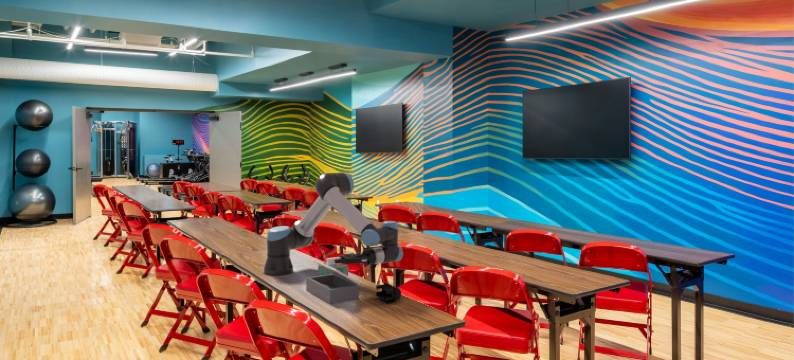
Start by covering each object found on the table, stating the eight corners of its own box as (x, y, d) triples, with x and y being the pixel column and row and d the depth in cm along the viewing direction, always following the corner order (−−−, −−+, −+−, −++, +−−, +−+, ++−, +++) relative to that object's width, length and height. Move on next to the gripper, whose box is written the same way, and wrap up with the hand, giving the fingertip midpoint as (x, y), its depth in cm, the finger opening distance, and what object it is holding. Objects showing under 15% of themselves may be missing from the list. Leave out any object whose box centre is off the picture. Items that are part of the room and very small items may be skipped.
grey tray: (306, 290, 229) (306, 277, 229) (333, 286, 237) (333, 273, 237) (329, 304, 210) (329, 289, 209) (358, 299, 217) (359, 285, 217)
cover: (311, 259, 230) (311, 258, 230) (333, 273, 237) (334, 271, 237) (335, 270, 210) (336, 269, 210) (359, 284, 217) (359, 283, 217)
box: (342, 282, 244) (342, 267, 243) (317, 280, 248) (317, 265, 247) (348, 279, 251) (348, 264, 251) (323, 277, 255) (323, 262, 254)
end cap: (401, 302, 214) (401, 286, 214) (387, 304, 210) (387, 288, 210) (389, 296, 222) (389, 281, 222) (375, 298, 219) (375, 283, 218)
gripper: (379, 266, 229) (333, 273, 216) (365, 261, 240) (320, 267, 226) (380, 250, 229) (333, 256, 215) (365, 246, 239) (320, 250, 226)
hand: (327, 261), depth 221 cm, fingers closed
